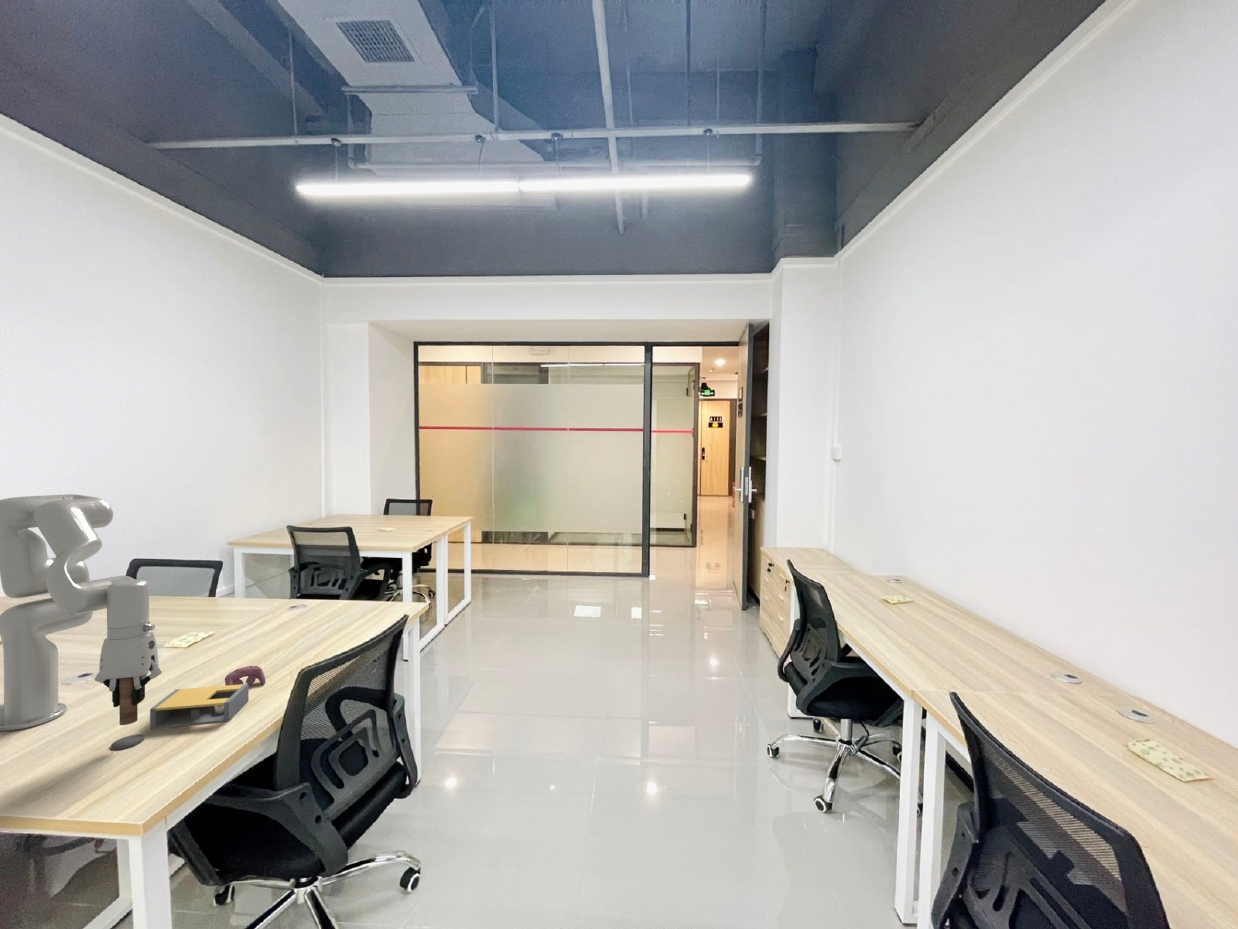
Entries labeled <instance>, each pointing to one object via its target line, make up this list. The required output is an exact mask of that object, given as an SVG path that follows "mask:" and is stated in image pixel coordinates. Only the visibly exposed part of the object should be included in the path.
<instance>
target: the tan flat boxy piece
mask: <svg viewBox="0 0 1238 929" xmlns="http://www.w3.org/2000/svg"><path fill="white" fill-rule="evenodd" d="M248 702H249V684H247V683H243V684H241V685H228V686H226V685H218V686H217V685H216V686H203V687H202V686H201V687H192V688H179V689H178V688H176V689H174V690H173V691H171V693H169V694H168V695H166V696H165V697H164V698H163V699H161V700H160V701H159V702H157V703H156V704H155V705H154V706H152V707H150V708H149V729H157V728H159V729H160V728H168V727H169V728H171V727H180V726H190V725H200V724H201V725H202V724H212V723H222V722H230V721H232V719H233V718H234V717H235V715H237V714H238V713H239V712H240V711H241V710H242V709H243V707H245V705H246V704H247V703H248ZM217 705H224V712H223V713H215V706H217Z"/></svg>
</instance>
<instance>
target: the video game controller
mask: <svg viewBox="0 0 1238 929" xmlns="http://www.w3.org/2000/svg"><path fill="white" fill-rule="evenodd" d="M245 677H247V678H246V680H245V684H249V685H253V684H254V683H255V682H256V680H259V683H261V685H265V684H266V676H265V674H264V670H263V669H262V668H261V667H260V666H258V665H247V666H243V667H239V668H237V669H235V670H233V671H231V672H229V673H228V674H227V675H226V676H225V678H224V682H225V685H224V686H228V685H241V684H244V681H243V680H242V678H245Z"/></svg>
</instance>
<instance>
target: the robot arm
mask: <svg viewBox="0 0 1238 929" xmlns="http://www.w3.org/2000/svg"><path fill="white" fill-rule="evenodd" d="M113 516H114V512H113V508H112V507H111V505H110V504H109V503H108V502H107V501H106V500H104V499H103V498H100V497H97V496H96V497H95V496H88V495H81V494H74V493H73V494H71V493H70V494H51V495H50V494H49V495H47V494H46V495H32V496H31V495H30V496H29V495H27V496H18V497H17V496H15V497H8V498H3V499H0V582H1V587H2V588H1V589H2V591H3V593H4V595H5V596H6V597H8V598H10V599H23V598H25V599H26V598H30V597H35V596H41V595H47V594H49V596H50V598H44V599H38V600H33V601H28V602H24V603H20V604H17V605H14V606H11V607H8V608H7V609H5V610H4V611H3V612H1V614H0V640H1V643H2V653H3V704H0V731H1V732H2V731H6V732H7V731H17V730H22V729H27V728H31V727H35V726H38V725H41V724H44V723H47V722H50V721H52V720H55V719H56V718H58V717H59V718H60V717H61V716H62V715H63V714H65V713H66V711H67V708H68V707H67V705H66V703H63V702H59V649H58V647H57V645H56V644H55V643H54V642H52V641H51V640H49V639H48V638H47V637H46V636H47V635H51V634H54V633H56V632H60V631H66V630H70V629H72V628H76V627H80V626H82V625H85V624H86V623H89V621H90V620H91V619H92V618H93V615H94V612H95V611H96V612H97V611H101V610H105V609H106V638H105V639H103V642H102V645H101V650H100V657H99V668H98V670H99V671H98V673H97V674H96V676H95V678H94V681H95V682H97V683H101V684H103V685H104V686H106V688H108V690H109V692H111V698H112V699H111V703H112V707H113V708H118V707H119V678H132V677H133V679H134V686H135V689H134V690H132V705H133V706H134V705H137V706H138V705H139V704H140V703H141V702H143V701H144V700H145V698H146V685H147V684H148V683H149V682H150V681H152V680H153V679H155V678H157V677H158V676H160V675H161V674H163V671H162V670H161V668H160V667H159V652H158V650H159V649H158V646H157V645H158V643H157V640H156V637H155V634H154V632H153V631H154V630H155V629H156V625H155V624H151V620H150V585H149V582H148V581H147V580H144V579H135V578H133V577H131V576H127V575H117V576H110V577H105V578H98V579H94V580H93V579H92V580H90V573H89V569H88V566H87V564H86V563H85V561H86V560H88V559H89V558H91V557H93V556H94V555H96V554H97V553H98V552H99V551H100V550H101V549H102V547H103V542H102V540H101V538H100V537H99V535H98V534H97V533H96V531H95V529H101V528H105V527H107V526H109V524H110V523H111V522H112V521H113V518H114V517H113ZM33 528H38V530H39V531H40V533H41V535H42V536H43V538H44V539H45V540H44V539H43V538H42V537H41V536H40V535H39V534H37V533H36V532H35V531H33V530H31V529H33ZM46 542H47V543H46ZM47 544H48V545H49V548H50V549H51V551H52V553H53V554H54V555H55V557H49V556H48V552H47ZM149 672H150V674H149Z"/></svg>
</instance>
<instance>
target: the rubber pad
mask: <svg viewBox="0 0 1238 929" xmlns="http://www.w3.org/2000/svg"><path fill="white" fill-rule="evenodd" d="M144 740H145V735H143V734H131V735H127V736H124V737H121V738H119V739H117V740H115V741H114V742H112V743H111V745H110V749H111V750H113V751H120V750H125V749H130V748H132V747H135V746H137V745H139V744H141V743H142V742H143V741H144Z"/></svg>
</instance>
